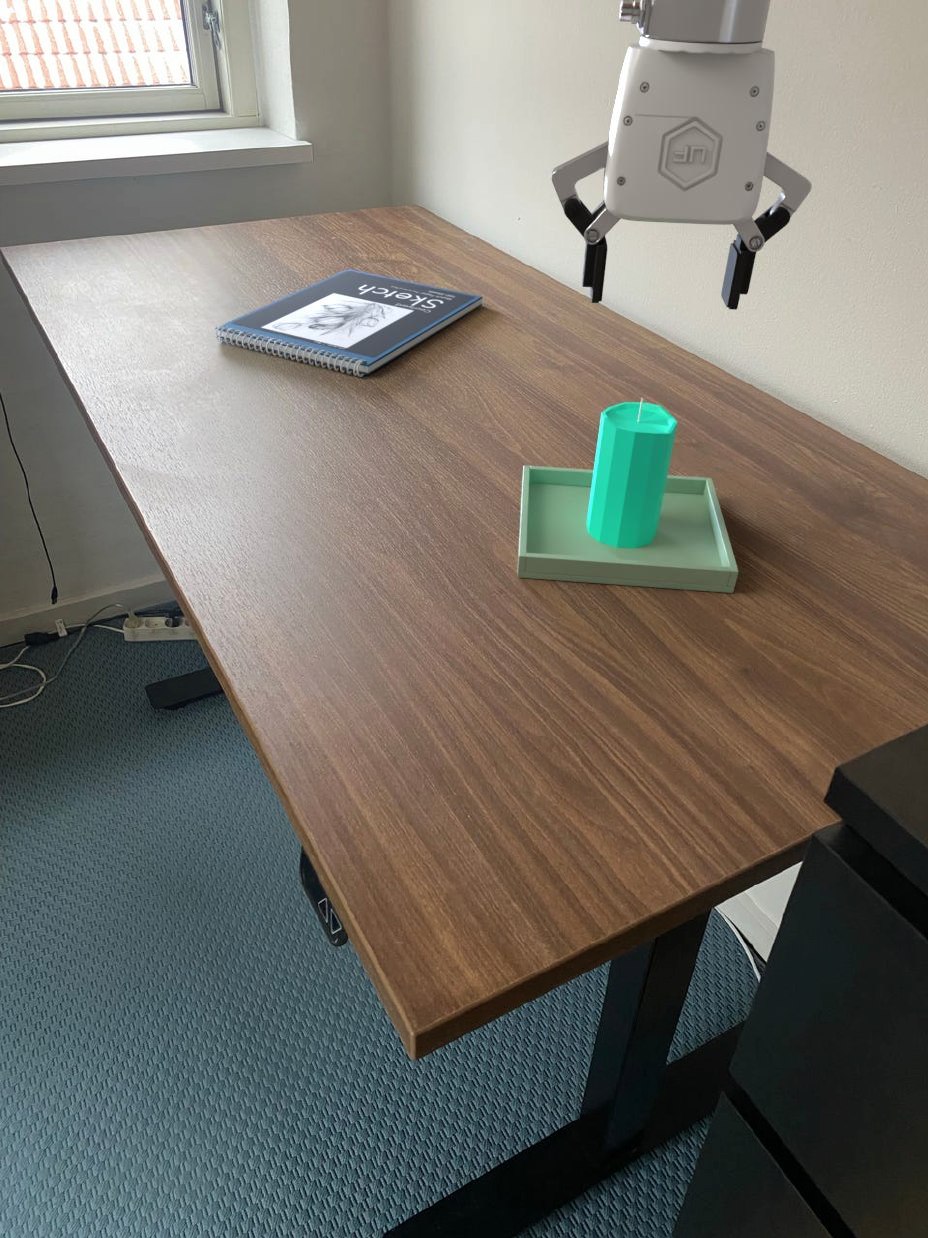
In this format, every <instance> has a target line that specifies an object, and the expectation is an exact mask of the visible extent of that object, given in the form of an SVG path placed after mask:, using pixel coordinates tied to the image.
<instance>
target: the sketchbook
mask: <svg viewBox="0 0 928 1238" xmlns="http://www.w3.org/2000/svg"><path fill="white" fill-rule="evenodd" d="M481 306H483V296H481V295H477V294H472V293H468V292H462V291H458V290H453V289H448V288H443V287H438V286H433V285H430V284H429V285H428V284H425V283H418V282H415V281H409V280H403V279H399V278H394V277H389V276H385V275H379V274H375V273H370V272H365V271H360V270H355V269H350V268H346V269H343V270H342V271H340V272H338V273H335V274H333V275H331V276H329V277H327V278H324V279H321V280H320V281H317V282H315V283H312V284H310V285H308V286H307V287H304V288H302V289H300V290H297V291H294V292H292V293H291V294H288V295H286V296H284V297H282V298H279V299H277V300H274V301H272V302H270V303H268V304H266V305H264V306H260V307H259V308H257V309H255V310H254V309H253V310H252V311H250V312H247V313H245V314H244V315H241V316H239V317H236V318H234V319H232V320H230V321H228V322H225V323H223V324H221V325H218V326H216V327H215V339H216V340H217V341H218V343H224V342H225V343H226V344H227V345H228V344H231V345H232V346H237V347H240V348H241V347H242V348H244V349H247V348H248V350H251V351H252V350H255V351H256V352H259V351H260V352H261V353H263V354H264V353H266V354H267V355H271V354H272V355H273V356H277V355H278V357H280V358H282V357H284V358H285V359H291V360H292V361H295V360H296V361H297V362H303V363H304V364H307V363H308V364H309V365H315V366H316V367H320V366H321V367H322V368H323V369H325V368H327V369H328V370H332V369H334V371H335V372H338V371H339V370H340V372H341V373H345V372H346V373H347V375H351V374H353V376H354V377H355V376H358V377H359V378H362V377H364V376H365V375H369V374H371V373H373V372H374V371H376V370H378V369H380V368H382V367H383V366H384V365H387V364H388V363H389V362H391V361H392V360H394V359H396V358H397V357H399V356H401V355H402V354H404V353H405V352H408V351H409V350H410V349H412V348H414V347H415V346H417V345H419V344H420V343H422V342H423V341H424V342H425V340H427V339H429V338H430V337H431V336H433V335H435V334H436V333H438V332H440V331H442V330H443V329H445V328H446V327H448V326H450V325H451V324H453V323H455V322H456V321H458V320H459V319H462V317H464V316H466V315H468V314H470V313H471V312H473V311H475V310H476V309H477V308H479V307H481Z"/></svg>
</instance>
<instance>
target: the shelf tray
mask: <svg viewBox="0 0 928 1238" xmlns="http://www.w3.org/2000/svg"><path fill="white" fill-rule="evenodd" d="M593 471H594V469H587V468H586V469H585V468H584V469H583V468H570V467H553V466H540V465H523V466H522V477H521V491H520V492H521V494H520V513H519V531H518V532H519V534H518V551H517V568H516V569H517V571H516V577H517V578H520V579H531V580H546V581H560V582H574V583H587V584H588V583H589V584H601V585H602V584H603V585H615V586H628V587H629V586H630V587H644V588H657V589H670V590H682V591H683V590H684V591H699V592H711V593H727V594H733V593H734V591H735V587H736V584H737V579H738V576H739V568H738V564H737V561H736V557H735V554H734V551H733V547H732V543H731V540H730V537H729V533H728V530H727V526H726V523H725V519H724V516H723V515H724V514H723V512H722V509H721V505H720V502H719V498H718V495H717V491H716V488H715V484H714V481H713V478H712V477H704V476H702V477H701V476H686V475H674V474H668V475H667V481H666V486H665V491H664V496H663V501H662V507H661V512H660V517H659V522H658V528H657V533H656V536H655V537H654V539H653V540H652V541H651V542H650V544H647V545H644V546H641V547H637V548H616V547H613V546H610V545H606V544H603V543H600V542H598V541H597V540H596V539H595V538H593V537H592V536H591V535H590V534H588V529H587V525H586V522H587V515H588V508H589V500H590V493H591V486H592V478H593Z"/></svg>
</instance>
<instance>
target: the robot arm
mask: <svg viewBox="0 0 928 1238" xmlns="http://www.w3.org/2000/svg"><path fill="white" fill-rule="evenodd" d="M770 4H771V0H620V4H619V11H618V12H619V14H618V21H619V22H627V23H628V22H630V25H636V28H637V29H639V33H640V36H639V42H631V43H630V44H629V45H628V47H627V50H626V51H627V52H626V54H625V57H624V61H623V64H622V69H621V72H620V77H619V83H618V88H617V93H616V96H615V100H614V105H613V110H612V116H611V122H610V128H609V134H608V140H607V141H605V142H603V143H600V144H598V145H596V146H595V147H593V148H591V149H589V150H587V151H585V152H583V153H581V154H579V155H577V156H576V157H573V158H571V159H569V160H567V161H565V162H563V163H561V164H559V165H557V166H556V167H554V168H553V169H552V171H551V174H550V175H551V183H552V184H553V187H554V190H555V192H556V195H557V197H558V200H559V203H560V205H561V207H562V210H563V213H564V215H565V217H566V218H567V219H568V221H569V222H570V223H571V224H572V225H573V227H574V228H575V229H576V230H577V231H578V233H579V234H580V235H581V236H582V238H583V239H584V241H585V246H584V247H585V248H584V256H583V257H584V258H583V267H582V268H583V269H582V279H581V280H582V281H581V286H582V287H581V288H589V292H590V293H589V295H590V302H591V303H592V304H599V303H600V302H602V300H603V293H604V285H605V284H604V283H605V276H606V275H605V274H606V265H607V257H608V243H607V238H606V235H607V234H608V233H609V232H610V231H611V230H612V229H613V228H614V227H615V226H616V225H617V223H619V222H620V220H625V221H626V220H627V221H632V222H644V223H645V222H647V223H668V224H689V225H690V224H692V225H719V226H721V225H723V226H724V225H725V226H727V225H728V226H729V225H732V226H733V227H734V229H735V230H736V232H737V234H736V239H734V240H733V242H731V243H730V245H729V250H728V255H727V259H726V260H727V261H726V265H725V271H724V276H723V282H722V288H721V292H720V295H721V299H722V301H723V303H724V306H725V307H726V308H728V310H738V308H739V302H740V298H741V295H748V293H749V291H750V290H749V289H750V286H751V281H752V276H753V270H754V266H755V262H756V261H755V260H756V255H757V252H758V251H761V250H762V249H763V248H764V247H765V243H767V242H768V241H769V240H770V239H771V238H773V237H774V236H775V235H777V233H779V232H780V231H782V229H784V228H786V227H787V226H788V224H789V223H790V221H791V217H793V215H794V214H795V213H796V212H797V211H798V209H799V208H800V206H801V205H802V203H803V202H804V201H805V199H807V197H808V195H809V194H810V193H811V190H812V189H813V187H812V186H813V185H812V182H811V181H810V180H809V179H808V178H806V176H804V175H803V174H801V173H800V172H798V171H797V170H795V169H794V168H792V167H791V166H790V165H788V164H786V162H784V161H782V160H781V159H779V158H777V156H775V155H773V154H772V153H770V152H769V151H768V145H769V137H770V131H771V130H770V128H771V121H772V112H773V101H774V90H775V89H774V88H775V67H776V64H775V63H776V61H775V60H776V59H775V57H776V55H775V54H776V53H775V50H772V49H769V48H766V47H763V43H764V37H765V32H766V26H767V22H768V21H767V20H768V16H769V10H770ZM602 169H604V170H603V194H604V195H603V198H604V199H602V201H601V202H600V203H599V204H598V205H597V206H596V207H595V208H594V210H593V211H592V212H591V210H589V208H588V207H587V206H586V204H585V203H584V202H583V201H582V200H581V199H580V196H579V194H578V192H577V189H576V184H578V182H579V181H581V180H582V179H584V178H586V177H588V176H590V175H592V174H595V173H597V172H598V171H601V170H602ZM764 177H765V178H767V180H770V181H771V182H773V183H774V184H776V186H779V188H781V191H780V193H779V196H778V197H777V199H776V201H775V203H773V205H771V206H770V207H769V208H767V209H765V211H764V212H763V213H761V214H760V215H759V216H758V217H757V218H755V219H754V218H753V216H754V215H755V213H756V211H757V208H758V205H759V201H760V198H761V192H762V187H763V180H764Z"/></svg>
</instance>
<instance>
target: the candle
mask: <svg viewBox="0 0 928 1238" xmlns="http://www.w3.org/2000/svg"><path fill="white" fill-rule="evenodd" d="M677 427H678V421H677V420H676V418H675V417H674V416H673V415H672V414H671V413H670V412H669V411H668V410H667V409H666V408H664V406H662V405H661V404H654V403H649V402H644V398H643V397H641V399H640V401H638V402H637V401H624V402H620V403H618V404H614V405H612V406H608V407H607V408H605V409H604V410H603V411H601V413H600V420H599V428H598V434H597V442H596V449H595V457H594V465H593V470H594V471H593V478H592V486H591V493H590V500H589V508H588V515H587V522H586V525H587V529H588V534H590V535H591V536H592V537H593V538H595V539H596V540H597V541H598V542H600V543H603V544H606V545H610V546H613V547H616V548H637V547H641V546H644V545H647V544H650V542H651V541H652V540H653V539H654V537H655V536H656V533H657V528H658V522H659V517H660V512H661V507H662V501H663V496H664V491H665V486H666V481H667V475H669V469H670V464H671V460H672V454H673V449H674V444H675V438H676V433H677V429H678V428H677Z"/></svg>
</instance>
